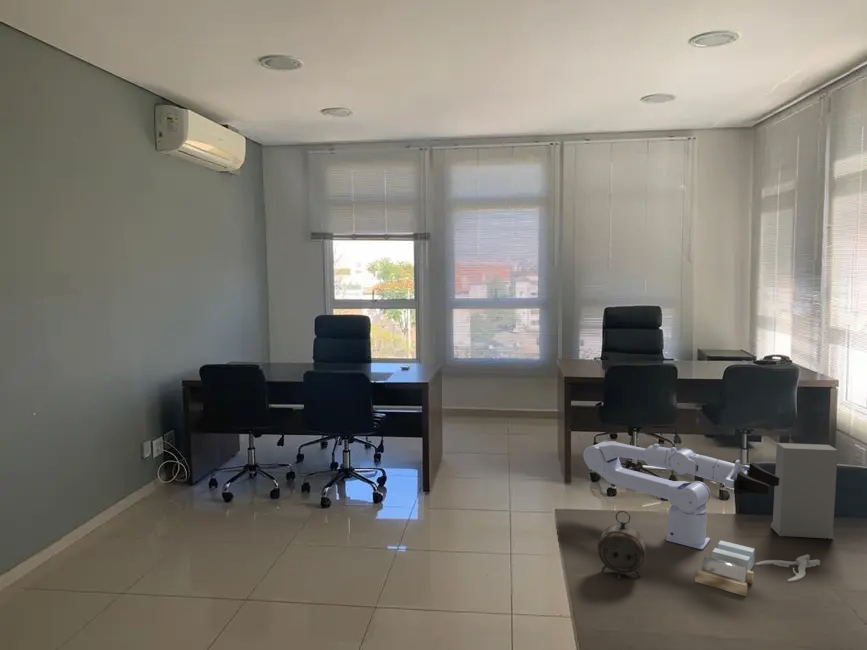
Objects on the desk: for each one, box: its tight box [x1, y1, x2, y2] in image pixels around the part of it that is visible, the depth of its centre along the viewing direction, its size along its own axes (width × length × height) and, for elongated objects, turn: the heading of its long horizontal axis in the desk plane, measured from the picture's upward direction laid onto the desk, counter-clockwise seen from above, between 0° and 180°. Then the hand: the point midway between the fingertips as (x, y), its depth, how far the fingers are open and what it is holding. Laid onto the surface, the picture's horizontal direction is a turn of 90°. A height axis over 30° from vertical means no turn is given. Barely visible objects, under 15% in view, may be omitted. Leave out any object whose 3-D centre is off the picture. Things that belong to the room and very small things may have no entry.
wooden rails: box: [694, 569, 755, 597], centre depth 149 cm, size 11×8×2 cm
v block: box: [711, 540, 756, 571], centre depth 157 cm, size 8×8×4 cm
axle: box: [701, 555, 748, 583], centre depth 149 cm, size 9×5×5 cm, turn 52°
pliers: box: [754, 554, 821, 583], centre depth 156 cm, size 10×2×15 cm
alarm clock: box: [597, 510, 647, 580], centre depth 151 cm, size 11×5×16 cm, turn 65°
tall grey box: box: [770, 442, 839, 540], centre depth 175 cm, size 14×6×25 cm, turn 82°
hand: (774, 485), depth 155 cm, fingers open, 7 cm apart
